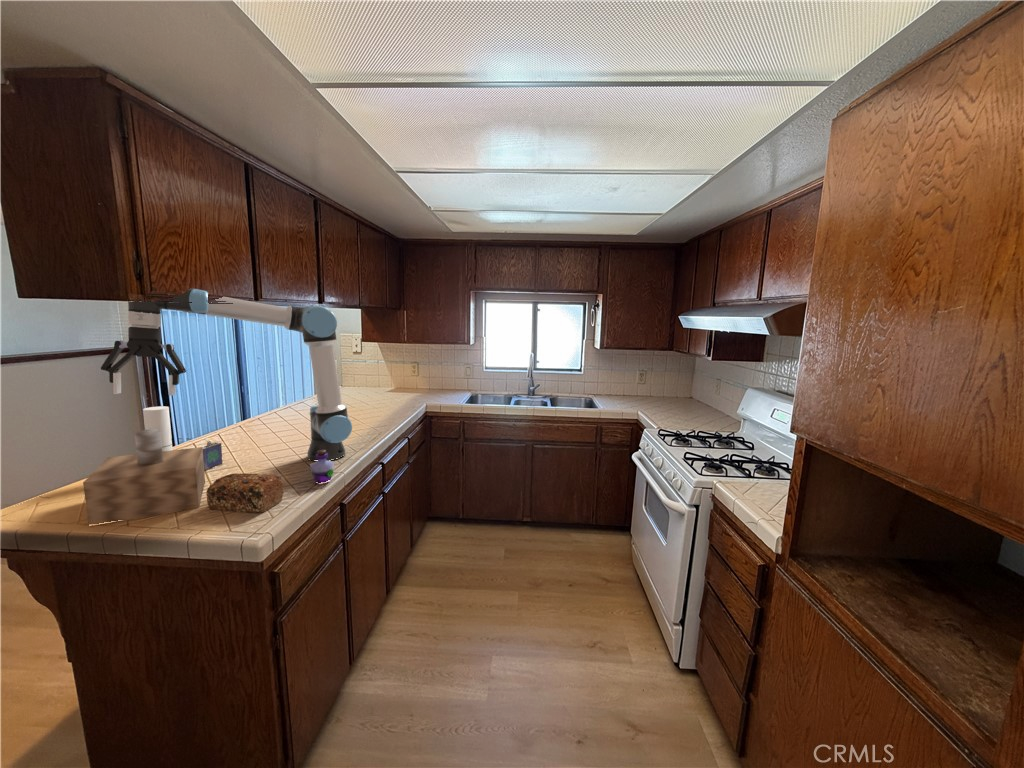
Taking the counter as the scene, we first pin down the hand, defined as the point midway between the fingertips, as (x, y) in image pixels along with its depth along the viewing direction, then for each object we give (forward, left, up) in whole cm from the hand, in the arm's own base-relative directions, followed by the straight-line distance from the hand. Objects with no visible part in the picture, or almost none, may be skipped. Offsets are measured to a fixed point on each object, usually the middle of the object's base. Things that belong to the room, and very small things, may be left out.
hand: (145, 394), depth 126 cm
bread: (-25, +22, -34) cm, 48 cm away
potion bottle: (-48, +13, -34) cm, 61 cm away
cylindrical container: (+2, -25, -34) cm, 43 cm away
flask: (-13, -24, -34) cm, 44 cm away
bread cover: (0, +5, -34) cm, 34 cm away
